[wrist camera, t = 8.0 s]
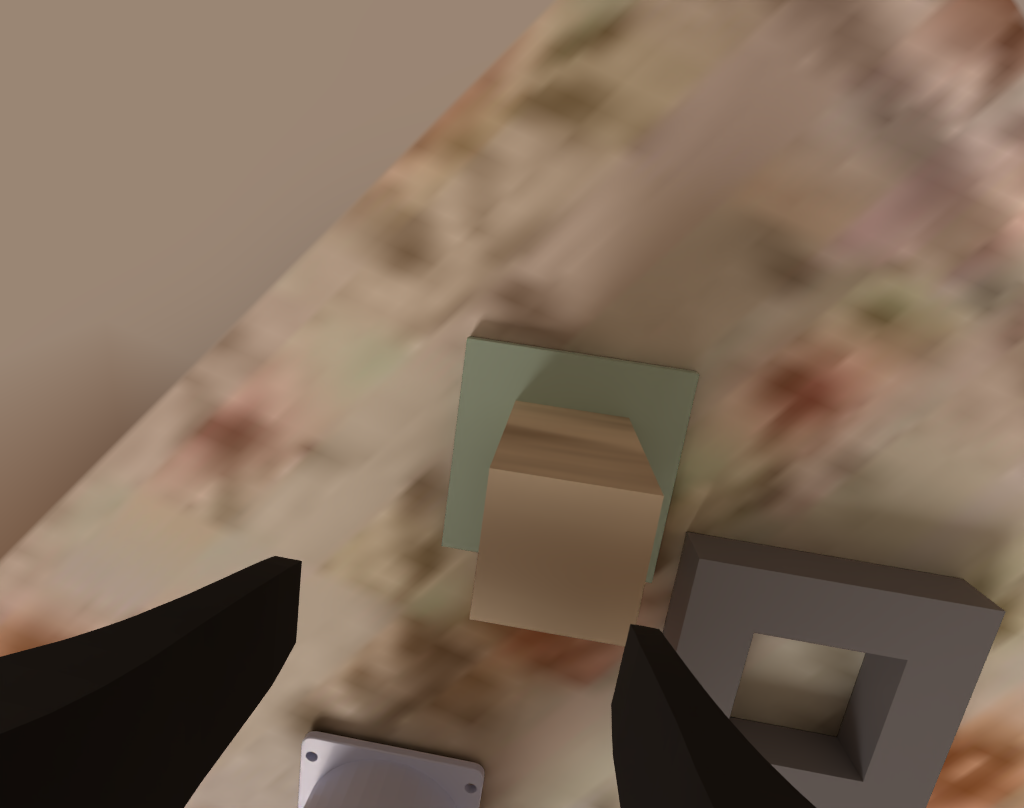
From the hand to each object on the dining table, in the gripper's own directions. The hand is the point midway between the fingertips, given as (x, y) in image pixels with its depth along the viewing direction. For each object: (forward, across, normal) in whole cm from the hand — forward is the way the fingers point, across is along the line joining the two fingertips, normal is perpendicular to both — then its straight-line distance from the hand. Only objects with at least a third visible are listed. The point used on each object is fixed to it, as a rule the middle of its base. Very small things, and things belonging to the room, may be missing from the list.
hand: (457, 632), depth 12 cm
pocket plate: (+9, -12, +6) cm, 16 cm away
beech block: (+9, -2, -1) cm, 9 cm away
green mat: (+9, -2, -1) cm, 10 cm away
